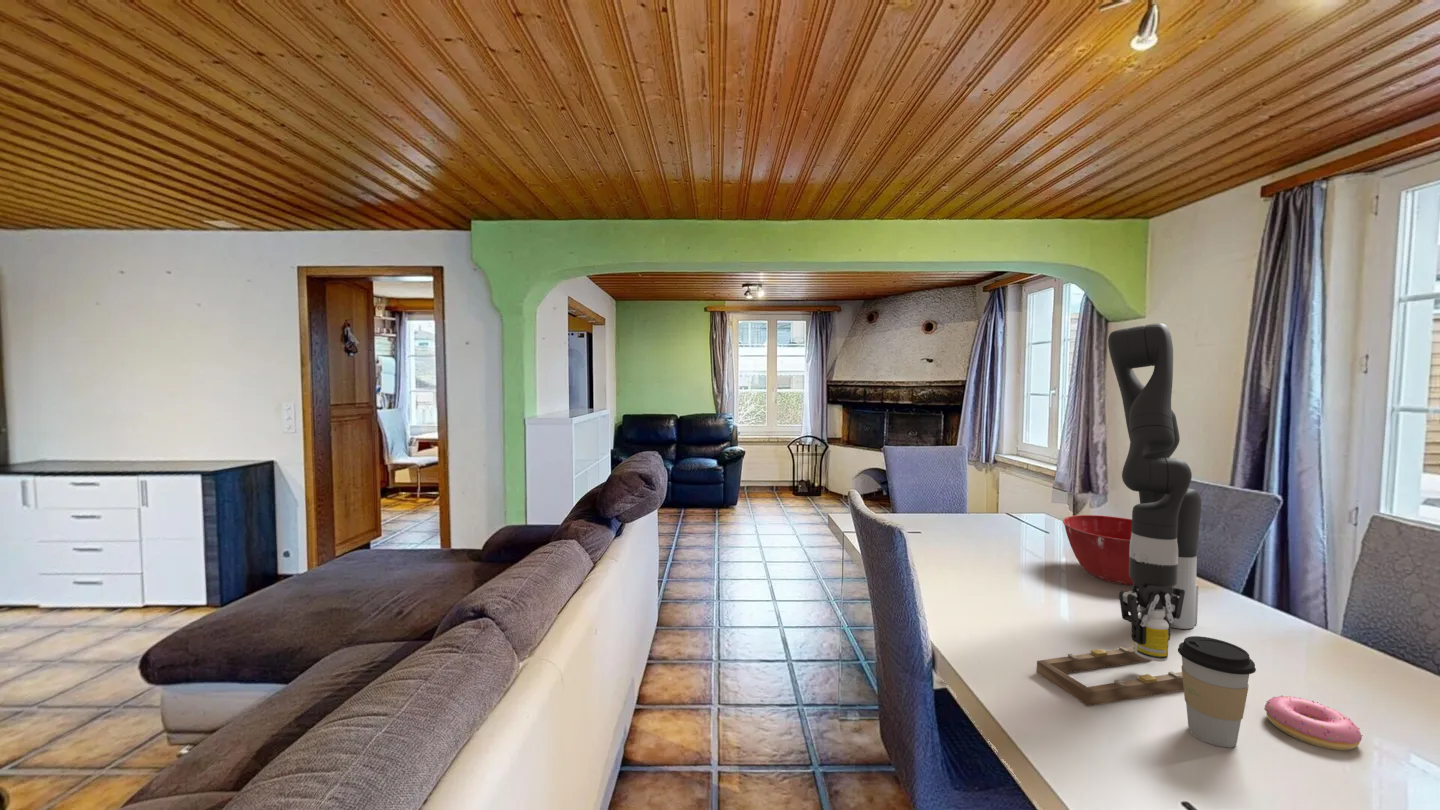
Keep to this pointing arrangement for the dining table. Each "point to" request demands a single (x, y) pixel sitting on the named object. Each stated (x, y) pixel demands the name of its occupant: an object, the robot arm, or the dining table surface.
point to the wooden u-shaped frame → (1107, 692)
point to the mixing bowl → (1101, 545)
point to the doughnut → (1313, 723)
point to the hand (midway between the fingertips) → (1150, 640)
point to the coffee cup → (1215, 688)
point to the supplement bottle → (1154, 637)
